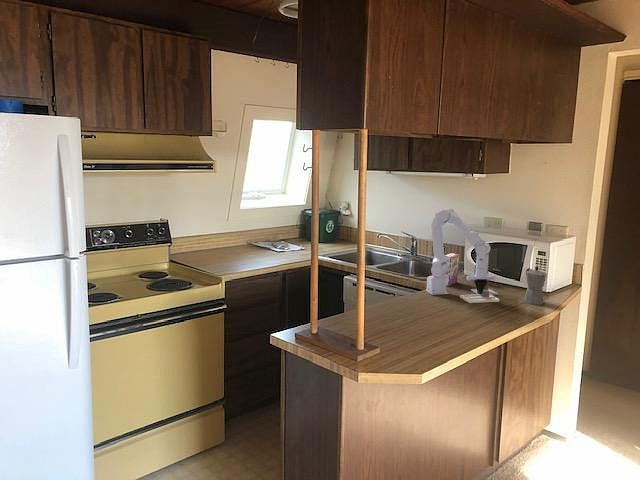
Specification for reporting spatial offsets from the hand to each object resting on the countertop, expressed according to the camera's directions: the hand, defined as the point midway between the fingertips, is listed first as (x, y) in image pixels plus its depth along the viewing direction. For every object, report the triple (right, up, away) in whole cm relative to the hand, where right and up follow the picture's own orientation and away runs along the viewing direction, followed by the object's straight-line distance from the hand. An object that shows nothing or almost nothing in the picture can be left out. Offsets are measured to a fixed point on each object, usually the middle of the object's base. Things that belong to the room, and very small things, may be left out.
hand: (479, 293), depth 260 cm
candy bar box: (-8, +2, +30) cm, 31 cm away
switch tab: (+3, -1, +1) cm, 3 cm away
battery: (+10, +2, +32) cm, 34 cm away
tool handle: (+6, 0, +13) cm, 14 cm away
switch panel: (0, -3, 0) cm, 3 cm away
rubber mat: (+6, -1, +13) cm, 14 cm away
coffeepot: (+26, -4, -1) cm, 26 cm away
